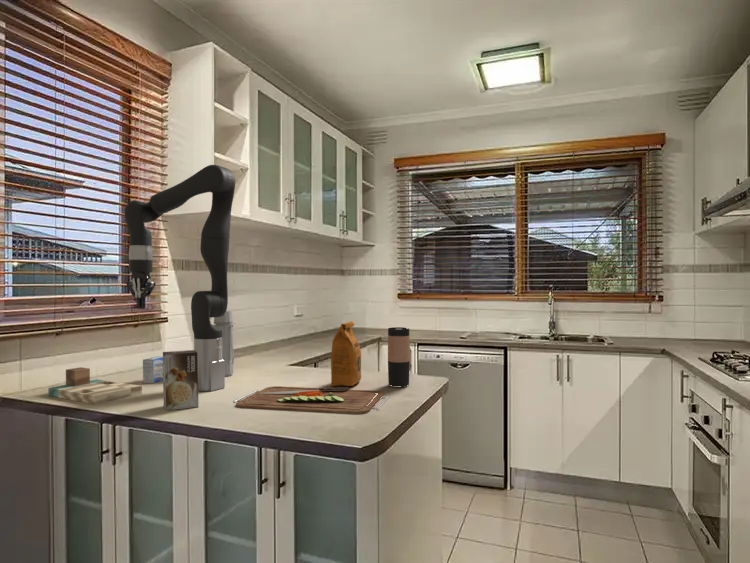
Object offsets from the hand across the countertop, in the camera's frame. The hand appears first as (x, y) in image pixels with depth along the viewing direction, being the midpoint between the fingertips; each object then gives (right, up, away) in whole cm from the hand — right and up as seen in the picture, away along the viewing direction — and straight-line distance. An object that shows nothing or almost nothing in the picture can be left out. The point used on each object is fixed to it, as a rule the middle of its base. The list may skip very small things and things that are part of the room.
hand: (140, 308), depth 179 cm
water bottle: (+24, -27, +19) cm, 41 cm away
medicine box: (+1, -27, +8) cm, 29 cm away
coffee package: (+72, -27, +2) cm, 77 cm away
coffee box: (+25, -27, -29) cm, 47 cm away
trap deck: (-9, -27, -14) cm, 31 cm away
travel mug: (+90, -27, 0) cm, 94 cm away
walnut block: (-17, -25, -9) cm, 31 cm away
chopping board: (+62, -28, -21) cm, 72 cm away
